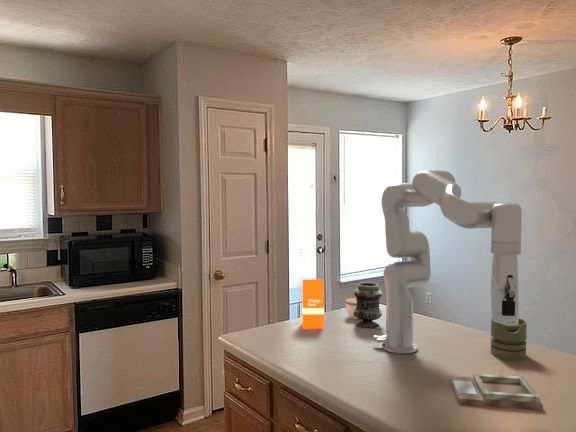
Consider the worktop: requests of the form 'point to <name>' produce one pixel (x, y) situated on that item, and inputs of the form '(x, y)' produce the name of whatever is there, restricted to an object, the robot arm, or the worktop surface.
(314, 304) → the orange juice
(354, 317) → the lidded jar
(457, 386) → the framed base plate
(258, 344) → the worktop surface
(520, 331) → the piston
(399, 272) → the robot arm
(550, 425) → the worktop surface
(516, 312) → the skincare box
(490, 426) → the worktop surface
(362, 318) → the dark stone vase
